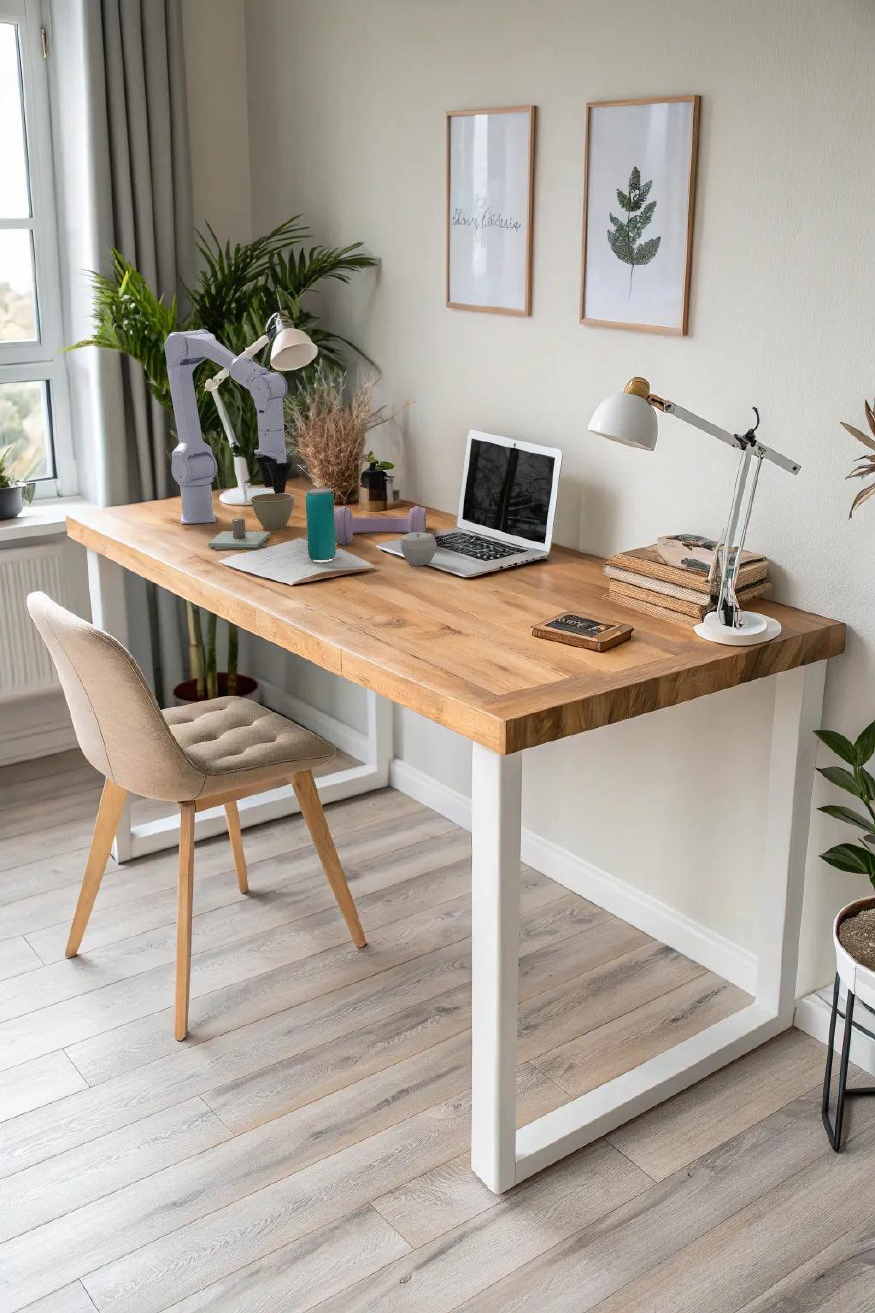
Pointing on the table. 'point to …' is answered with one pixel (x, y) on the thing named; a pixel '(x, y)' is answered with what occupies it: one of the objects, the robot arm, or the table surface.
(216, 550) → the mat
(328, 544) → the beverage can
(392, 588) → the table surface
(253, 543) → the lid
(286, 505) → the flower pot
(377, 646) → the table surface
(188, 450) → the robot arm
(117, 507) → the table surface
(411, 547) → the apple
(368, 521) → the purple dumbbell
